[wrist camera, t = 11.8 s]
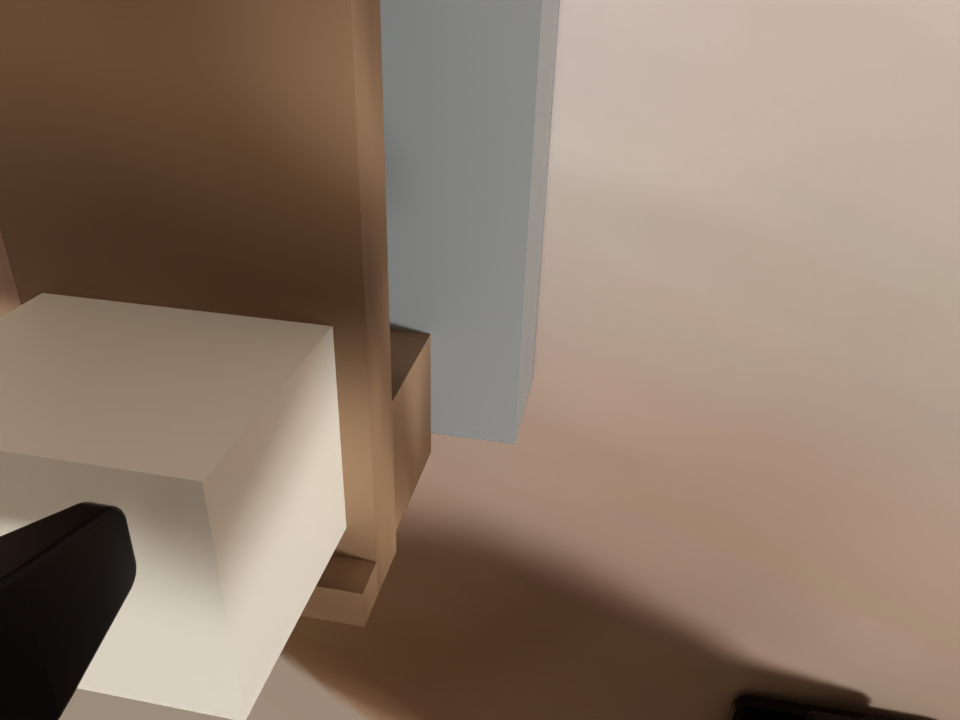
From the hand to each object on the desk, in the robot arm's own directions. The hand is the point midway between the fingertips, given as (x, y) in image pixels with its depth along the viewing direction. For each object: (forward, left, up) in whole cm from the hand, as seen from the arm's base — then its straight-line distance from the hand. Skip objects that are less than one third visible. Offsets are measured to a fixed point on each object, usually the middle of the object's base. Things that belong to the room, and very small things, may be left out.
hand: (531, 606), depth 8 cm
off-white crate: (-1, +6, -5) cm, 8 cm away
